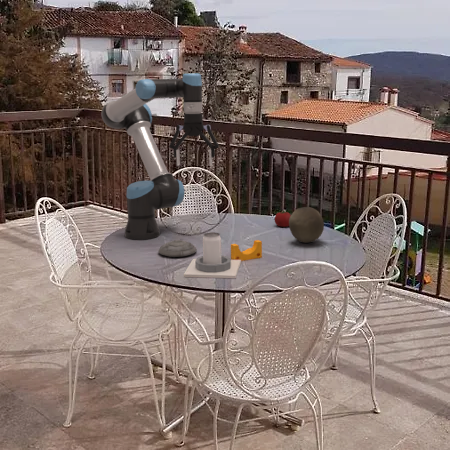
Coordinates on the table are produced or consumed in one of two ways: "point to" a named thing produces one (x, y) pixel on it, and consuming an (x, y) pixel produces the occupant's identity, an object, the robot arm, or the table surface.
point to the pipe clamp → (247, 252)
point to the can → (212, 248)
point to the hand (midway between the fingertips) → (194, 165)
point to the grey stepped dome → (177, 248)
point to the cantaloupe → (306, 224)
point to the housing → (213, 268)
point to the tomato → (282, 219)
